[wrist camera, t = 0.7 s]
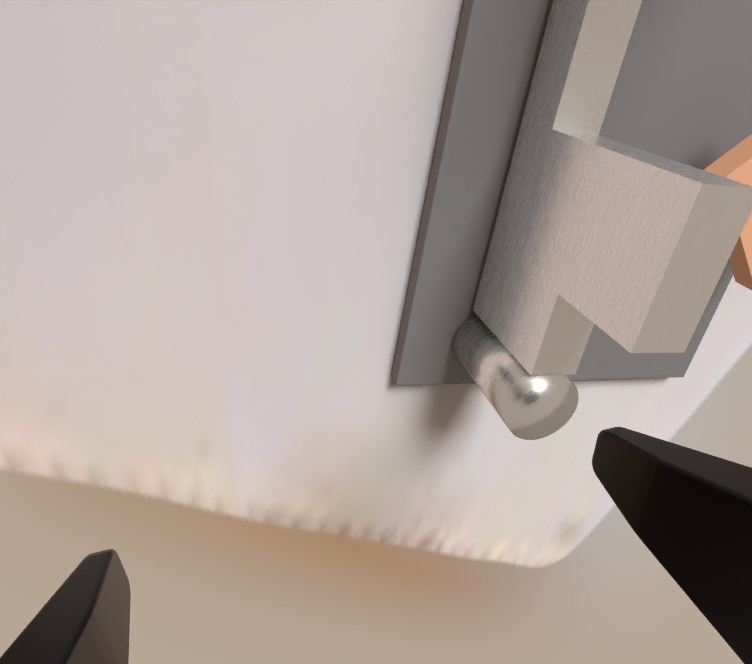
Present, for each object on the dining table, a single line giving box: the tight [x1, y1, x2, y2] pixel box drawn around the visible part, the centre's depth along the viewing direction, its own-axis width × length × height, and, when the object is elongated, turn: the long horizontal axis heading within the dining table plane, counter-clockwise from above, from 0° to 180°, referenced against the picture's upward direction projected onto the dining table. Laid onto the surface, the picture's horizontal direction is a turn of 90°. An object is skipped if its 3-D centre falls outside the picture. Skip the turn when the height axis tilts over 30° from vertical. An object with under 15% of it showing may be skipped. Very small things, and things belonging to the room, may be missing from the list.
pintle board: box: [391, 0, 752, 385], centre depth 22 cm, size 16×17×5 cm
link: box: [454, 0, 752, 440], centre depth 18 cm, size 3×15×8 cm, turn 171°
